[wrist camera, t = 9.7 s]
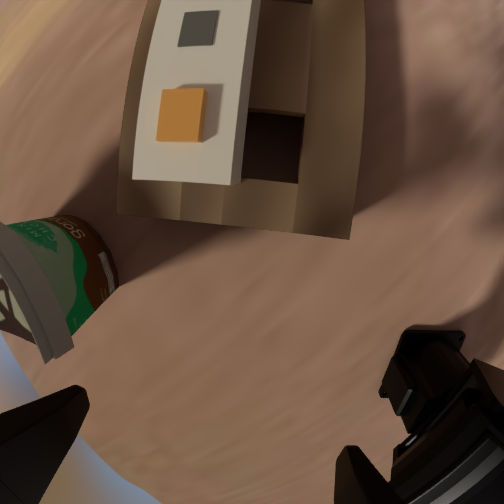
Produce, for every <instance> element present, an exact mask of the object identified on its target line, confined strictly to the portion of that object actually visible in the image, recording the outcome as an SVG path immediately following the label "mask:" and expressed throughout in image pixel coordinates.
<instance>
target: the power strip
mask: <svg viewBox="0 0 504 504" xmlns="http://www.w3.org/2000/svg"><path fill="white" fill-rule="evenodd" d="M260 3H261V0H161V4H160V7H159V11H158V15H157V18H156V22H155V26H154V30H153V35H152V39H151V43H150V48H149V53H148V58H147V63H146V68H145V73H144V79H143V85H142V91H141V98H140V104H139V112H138V120H137V128H136V137H135V148H134V159H133V174H132V179H136V180H160V181H179V182H194V183H208V184H221V185H234V184H238V183H240V182H241V171H242V161H243V151H244V141H245V132H246V122H247V113H248V104H249V95H250V86H251V77H252V68H253V60H254V51H255V43H256V35H257V27H258V19H259V11H260Z"/></svg>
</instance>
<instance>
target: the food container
mask: <svg viewBox="0 0 504 504" xmlns="http://www.w3.org/2000/svg"><path fill="white" fill-rule="evenodd" d="M118 287H119V283H118V275H117V270H116V267H115V264H114V261H113V258H112V255H111V252H110V251H109V249H108V247H107V246H106V244H105V242H104V241H103V239H102V237H101V236H100V234H99V233H98V232H97V231H95V230H94V229H93V228H92V227H91V226H90V225H89V224H88V223H87V222H86V221H84V220H82V219H80V218H78V217H75V216H71V215H62V216H55V217H49V218H43V219H37V220H31V221H25V222H20V223H14V224H9V225H4V224H3V223H1V222H0V330H3V331H6V332H9V333H11V334H14V335H16V336H19V337H21V338H23V339H25V340H27V341H29V342H32V343H34V344H36V345H37V347H38V349H39V351H40V354H41V357H42V360H43V363H44V364H46V363H47V362H49V361H50V360H51V359H52V358H54V359H57V358H59V357H60V356H62V355H63V354H65V353H66V352H68V351H69V350H71V349H72V348H74V344H73V341H72V337H71V336H72V335H73V334H74V333H75V332H76V331H77V330H78V329H79V328H80V327H81V326H82V324H83V323H84V322H85V321H86V320H87V319H88V318H89V317H90V316H91V315H92V314H93V313H94V312H95V311H96V310H97V309H98V308H99V307H100V306H101V304H102V303H103V302H104V301H105V300H106V299H107V298H108V297H109V296H110V295H111V294H112V293H113V292H114V291H115V290H116V289H117V288H118Z"/></svg>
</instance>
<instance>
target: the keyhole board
mask: <svg viewBox="0 0 504 504" xmlns="http://www.w3.org/2000/svg"><path fill="white" fill-rule="evenodd" d="M160 4H161V0H148V1H147V4H146V8H145V11H144V15H143V18H142V22H141V26H140V29H139V33H138V37H137V41H136V46H135V50H134V55H133V59H132V64H131V69H130V75H129V80H128V86H127V92H126V98H125V105H124V112H123V120H122V128H121V137H120V148H119V160H118V175H117V199H116V215H127V216H139V217H150V218H161V219H171V220H182V221H192V222H202V223H211V224H221V225H230V226H239V227H248V228H257V229H266V230H274V231H283V232H291V233H299V234H307V235H315V236H323V237H331V238H339V239H346V240H349V237H350V231H351V225H352V219H353V212H354V205H355V198H356V191H357V183H358V174H359V165H360V156H361V145H362V134H363V120H364V103H365V76H366V32H365V7H364V0H311V4H306V3H297V2H288V1H276V0H261V3H260V11H259V19H258V27H257V35H256V43H255V51H254V60H253V68H252V77H251V86H250V95H249V104H248V112H257V113H269V114H279V115H288V116H296V117H303V118H304V119H303V130H302V140H301V150H300V160H299V169H298V178H297V183H289V182H280V181H271V180H262V179H252V178H242V177H241V182H240V183H238V184H234V185H221V184H208V183H194V182H179V181H160V180H136V179H132V174H133V159H134V148H135V137H136V128H137V120H138V112H139V104H140V98H141V91H142V85H143V79H144V73H145V68H146V63H147V58H148V53H149V48H150V43H151V39H152V35H153V30H154V26H155V22H156V18H157V15H158V11H159V7H160Z"/></svg>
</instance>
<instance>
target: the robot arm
mask: <svg viewBox="0 0 504 504" xmlns="http://www.w3.org/2000/svg"><path fill="white" fill-rule="evenodd" d="M407 336H409V337H408V338H406V337H407ZM460 336H461V337H460ZM459 337H460V338H459ZM465 337H466V335H465V333H464V332H463V331H430V330H406V331H404V332H403V333H402V335H401V337H400V340H399V342H398V345H397V348H396V351H395V353H394V356H393V357H392V358H391V360H390V363H389V365H388V368H387V370H386V373H385V375H384V378H383V380H382V385H381V387H380V389H379V392H378V393H379V395H380V397H381V398H389V400H390V402H391V405H392V407H393V410H394V412H395V414H396V415H397V416H401V418H402V420H403V423H404V425H405V428H406V430H407V433H408V434H411V433H412V434H411V435H409V436H408V437H407V438H406V439H405V440H404V441H403V442H402V443H401V444H398V445H397V446H396V447H395V448H394V449H393V466H392V468H391V480H390V481H389V482H387V481H386V480H385V479H384V478H383V476H382V475H381V474H380V473H379V472H378V470H377V469H376V468H375V467H374V465H373V464H372V463H371V462H370V460H369V459H368V458H367V457H366V455H365V454H364V453H363V452H362V450H361V449H360V448H359V447H358V446H356V445H347V446H345V447H344V448H343V450H342V452H341V453H340V455H339V456H338V458H337V460H336V470H335V488H334V504H504V370H502V369H499V368H497V367H495V366H492V365H490V364H487V363H485V362H482V361H480V360H477V359H475V358H474V359H473V360H472V362H471V363H469V362H468V361H467V359H466V358H465V357H464V356H463V355H462V353H461V352H460V349H461V347H462V344H463V342H464V340H465ZM405 338H406V339H405ZM384 392H385V393H384ZM89 407H90V403H89V399H88V396H87V392H86V390H85V388H83V387H81V386H78V385H72V386H70V387H68V388H65V389H63V390H60V391H58V392H55V393H53V394H50V395H48V396H45V397H43V398H40V399H38V400H35V401H33V402H30V403H27V404H25V405H22V406H20V407H17V408H14V409H11V410H9V411H6V412H3V413H1V414H0V504H39V502H40V500H41V498H42V497H43V494H44V493H45V491H46V489H47V487H48V486H49V484H50V482H51V480H52V479H53V477H54V475H55V473H56V471H57V470H58V468H59V466H60V464H61V463H62V461H63V459H64V457H65V456H66V454H67V452H68V451H69V449H70V447H71V446H72V444H73V442H74V441H75V439H76V437H77V434H78V432H79V430H80V428H81V425H82V423H83V421H84V419H85V417H86V414H87V412H88V410H89Z"/></svg>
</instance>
